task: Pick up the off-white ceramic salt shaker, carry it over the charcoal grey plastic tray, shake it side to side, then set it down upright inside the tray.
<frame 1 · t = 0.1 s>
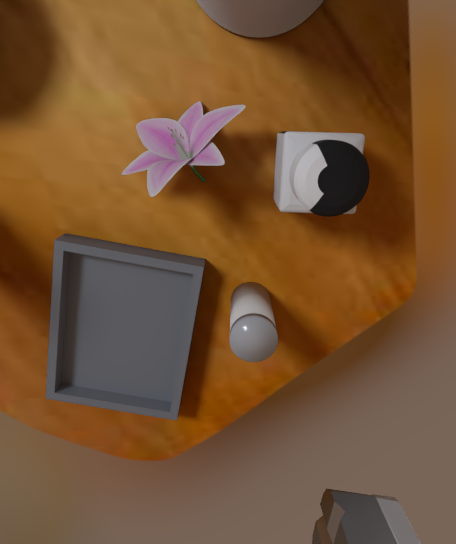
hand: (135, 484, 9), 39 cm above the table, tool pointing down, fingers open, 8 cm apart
medicine bottle: (308, 167, 45), on the table
lily: (187, 143, 44), on the table
shaker: (250, 300, 49), on the table
tray: (126, 325, 51), on the table
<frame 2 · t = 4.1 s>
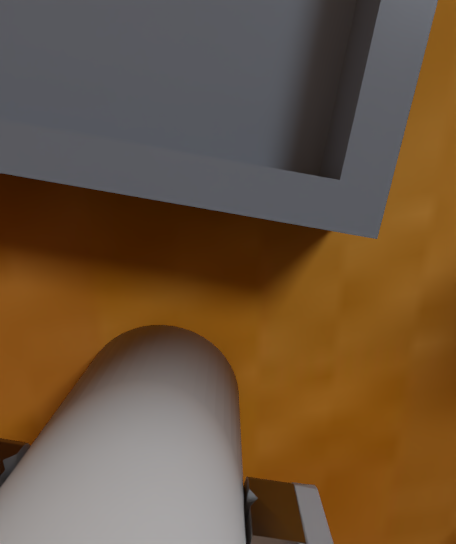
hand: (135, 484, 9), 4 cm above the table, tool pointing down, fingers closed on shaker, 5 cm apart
shaker: (161, 397, 13), on the table, touching gripper
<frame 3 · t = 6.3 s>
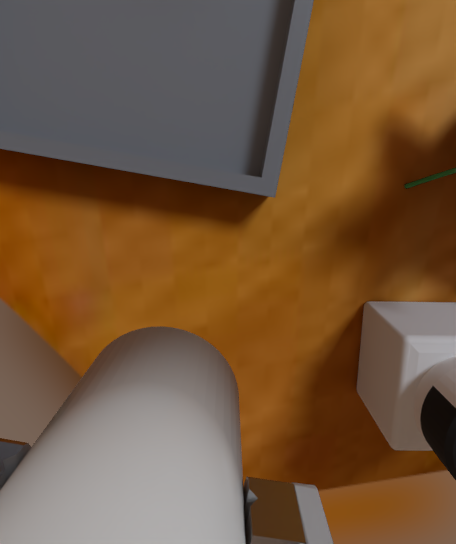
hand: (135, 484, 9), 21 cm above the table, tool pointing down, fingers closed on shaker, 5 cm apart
medicine bottle: (406, 346, 31), on the table
shaker: (162, 399, 13), point 17 cm above the table, touching gripper
tray: (135, 37, 26), on the table
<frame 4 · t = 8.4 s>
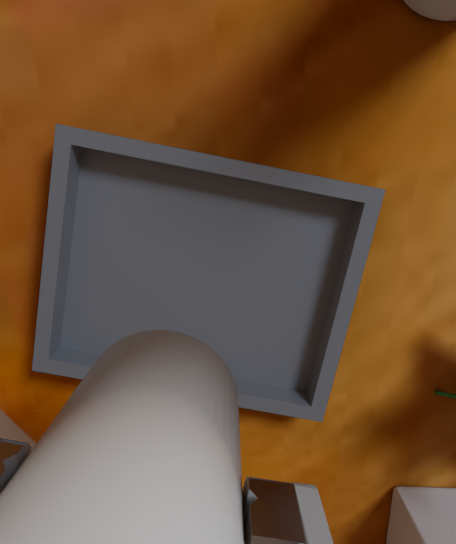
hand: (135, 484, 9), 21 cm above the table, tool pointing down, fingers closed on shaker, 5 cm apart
medicine bottle: (429, 520, 35), on the table
shaker: (161, 402, 13), point 18 cm above the table, touching gripper
tray: (202, 274, 30), on the table
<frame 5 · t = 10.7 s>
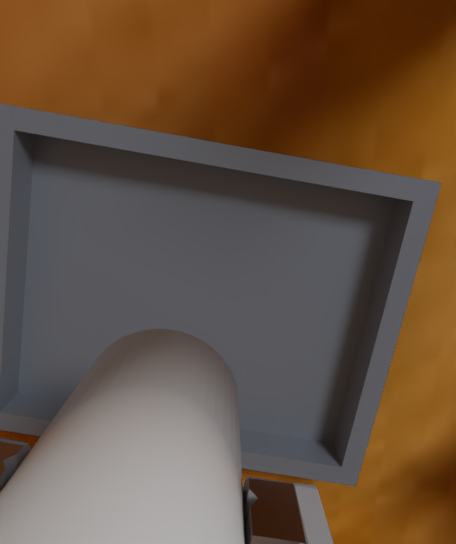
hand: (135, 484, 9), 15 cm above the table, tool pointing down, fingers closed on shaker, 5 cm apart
shaker: (161, 401, 13), point 11 cm above the table, touching gripper
tray: (197, 296, 23), on the table
when the fingers open (6 cm above the table, at t = 12.6 s): shaker drops 1 cm, resting on tray.
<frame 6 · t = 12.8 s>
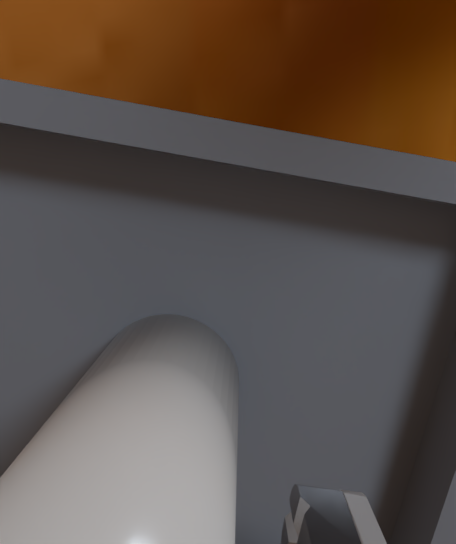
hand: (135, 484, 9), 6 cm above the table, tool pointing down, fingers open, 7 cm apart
shaker: (169, 380, 14), point 1 cm above the table, touching tray
tray: (171, 361, 15), on the table
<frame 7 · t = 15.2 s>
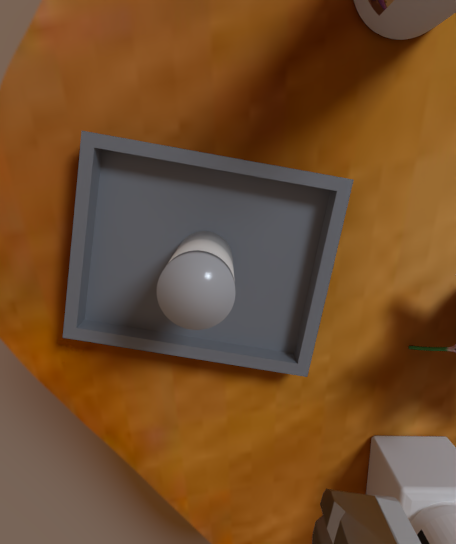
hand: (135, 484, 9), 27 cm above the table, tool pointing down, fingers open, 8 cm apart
medicine bottle: (404, 466, 40), on the table
lily: (452, 325, 37), on the table
shaker: (204, 259, 34), point 1 cm above the table, touching tray
tray: (204, 254, 35), on the table
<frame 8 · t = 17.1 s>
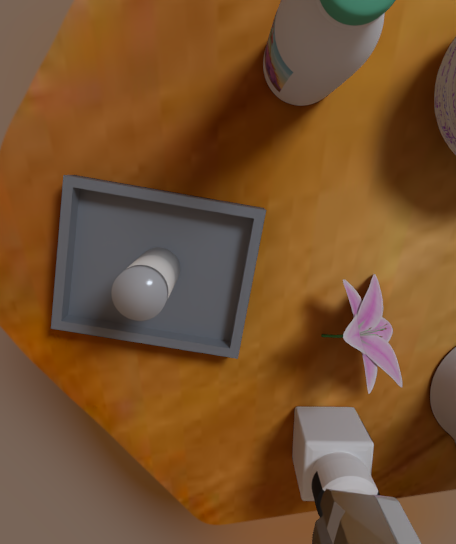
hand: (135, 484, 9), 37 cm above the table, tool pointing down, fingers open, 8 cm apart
medicine bottle: (322, 431, 51), on the table
lily: (355, 318, 48), on the table
milk bottle: (301, 65, 42), on the table
shaker: (158, 268, 45), point 1 cm above the table, touching tray
tray: (159, 265, 46), on the table
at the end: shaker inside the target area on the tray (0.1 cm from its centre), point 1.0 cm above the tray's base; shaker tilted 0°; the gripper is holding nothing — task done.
